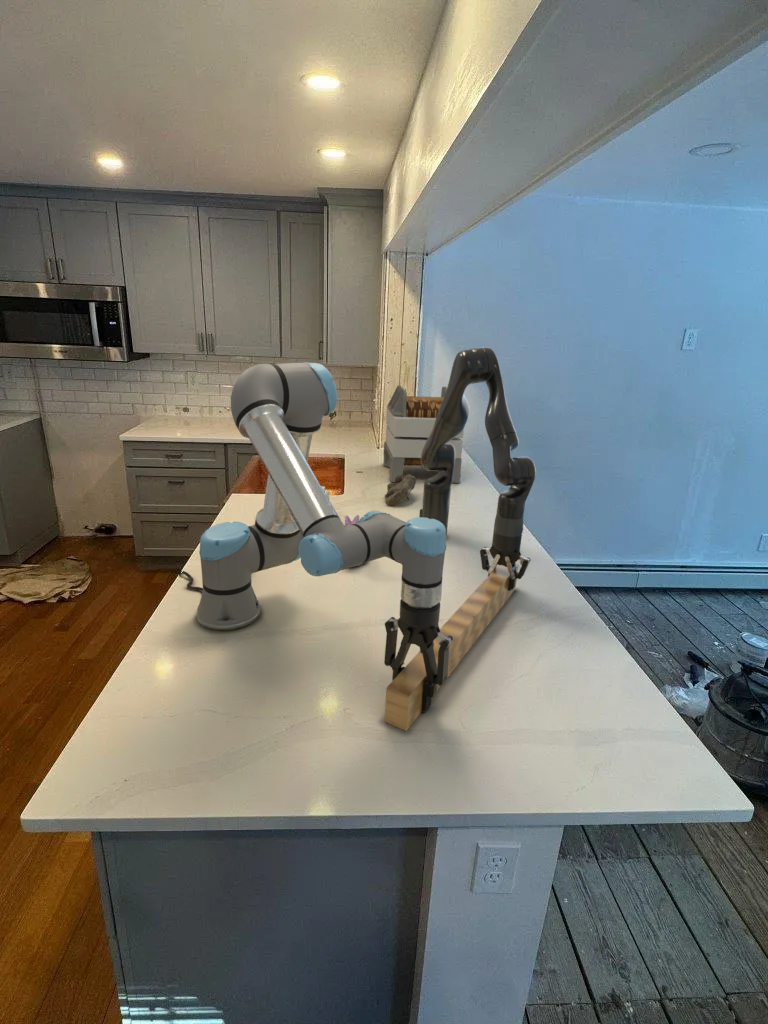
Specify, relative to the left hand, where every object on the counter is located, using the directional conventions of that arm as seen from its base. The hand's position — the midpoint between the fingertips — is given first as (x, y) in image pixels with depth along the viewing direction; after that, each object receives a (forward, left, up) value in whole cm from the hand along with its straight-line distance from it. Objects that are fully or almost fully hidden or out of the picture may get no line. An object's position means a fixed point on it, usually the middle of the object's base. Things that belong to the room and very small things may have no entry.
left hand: (413, 702), depth 114 cm
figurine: (-51, +46, -1) cm, 68 cm away
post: (-3, +27, -1) cm, 27 cm away
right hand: (-6, +54, +3) cm, 54 cm away
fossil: (-75, +107, -1) cm, 130 cm away
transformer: (-90, +146, -1) cm, 171 cm away
